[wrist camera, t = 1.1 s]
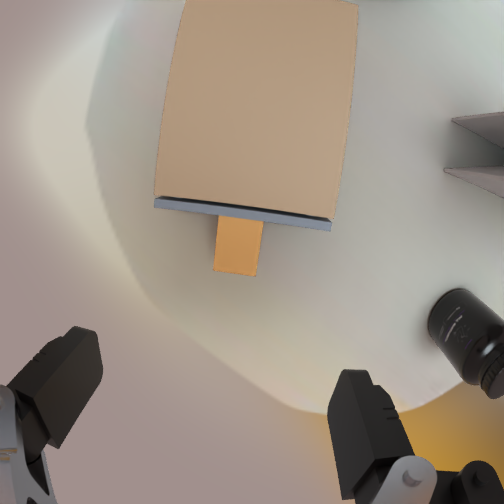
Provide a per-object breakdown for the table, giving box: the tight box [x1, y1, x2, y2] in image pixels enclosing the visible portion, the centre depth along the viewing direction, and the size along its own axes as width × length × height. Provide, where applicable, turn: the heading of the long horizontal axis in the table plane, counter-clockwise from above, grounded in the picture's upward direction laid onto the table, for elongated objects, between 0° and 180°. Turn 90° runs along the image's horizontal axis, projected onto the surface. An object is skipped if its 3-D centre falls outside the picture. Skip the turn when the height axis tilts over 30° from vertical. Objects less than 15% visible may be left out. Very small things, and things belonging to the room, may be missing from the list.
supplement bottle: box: [429, 289, 504, 399], centre depth 22 cm, size 7×7×12 cm
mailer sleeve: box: [154, 0, 358, 219], centre depth 20 cm, size 16×12×6 cm
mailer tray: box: [154, 196, 332, 276], centre depth 21 cm, size 20×12×5 cm, turn 172°
